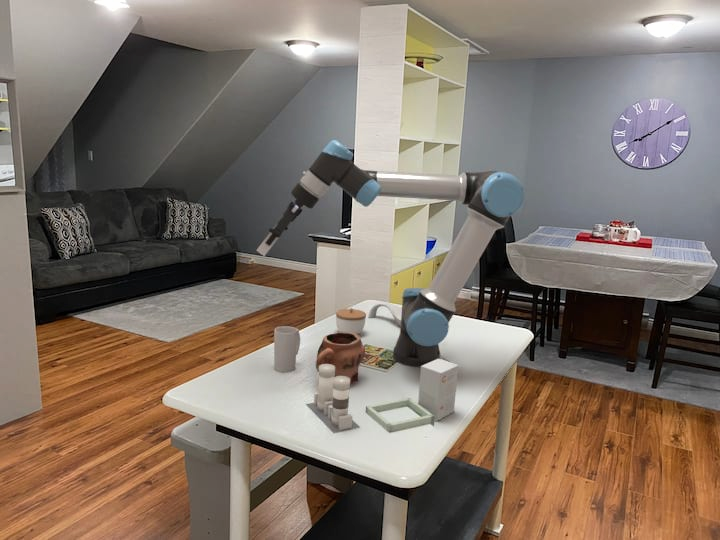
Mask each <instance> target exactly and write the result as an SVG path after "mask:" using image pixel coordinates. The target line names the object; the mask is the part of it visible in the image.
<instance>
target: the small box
mask: <svg viewBox="0 0 720 540" xmlns="http://www.w3.org/2000/svg"><path fill="white" fill-rule="evenodd" d="M458 371H459V365H458V364H456V363H454V362H450V361H447V360H444V359H442V358H440V359H436V360H434V361H431V362H429V363H427V364H425V365H422V366H421V367H420V371H419V372H420V373H419V385H418V387H419V388H418V399H417V400H418V401H417V404H419V405H420V406H422V407H423V408H424V409H426V410H427V411H428V412H430V413H431V414H433V415H434V416H435V419H434V422H438V420H439V421H440V420H441V419H444V418H446V417H447V416H448V415H450V413H451V414H452V413H454V412H455V405H456V396H457V395H456V394H457V385H458V384H457V382H458V375H459V374H458ZM453 411H454V412H453ZM443 417H444V418H443Z"/></svg>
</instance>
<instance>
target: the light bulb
mask: <svg viewBox="0 0 720 540" xmlns="http://www.w3.org/2000/svg"><path fill="white" fill-rule="evenodd" d="M350 389H351V383H350V378H349V377H346V376H336V377H334V378H333V402H332V406H333V407H332V414H331V424H332V425H334V426H339V416H344V415H349V403H350V400H349V399H350Z"/></svg>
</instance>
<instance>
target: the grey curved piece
mask: <svg viewBox="0 0 720 540" xmlns="http://www.w3.org/2000/svg"><path fill="white" fill-rule="evenodd" d="M380 307H384V308H386V309H388V311H390V313H391V315H392V317H393V318H394V320H395V322H396V323H397V324H398V325H399V326H400V327H401V315H402V306H398V305H395V304H393V303H391V302H385V301H384V302H380V303H377V304H374V305H373V306H372V307H371V309H369V313H368V317H367V318H368V319H373V318H374V317H377V311H378V309H379V308H380Z"/></svg>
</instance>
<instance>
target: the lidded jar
mask: <svg viewBox="0 0 720 540" xmlns="http://www.w3.org/2000/svg"><path fill="white" fill-rule="evenodd" d="M366 317H367V313H366V312H365V311H363V310H359V309H354V308H352V307H351V308H345V309H344V308H342V309H338V310H337V311H336V313H335V319H336V320H335V323H336V327H337V329H338V331H339V332H344V333H355V334H357V335H359V334H361V332H362V331H363V329H364V328H365V324H366Z"/></svg>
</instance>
